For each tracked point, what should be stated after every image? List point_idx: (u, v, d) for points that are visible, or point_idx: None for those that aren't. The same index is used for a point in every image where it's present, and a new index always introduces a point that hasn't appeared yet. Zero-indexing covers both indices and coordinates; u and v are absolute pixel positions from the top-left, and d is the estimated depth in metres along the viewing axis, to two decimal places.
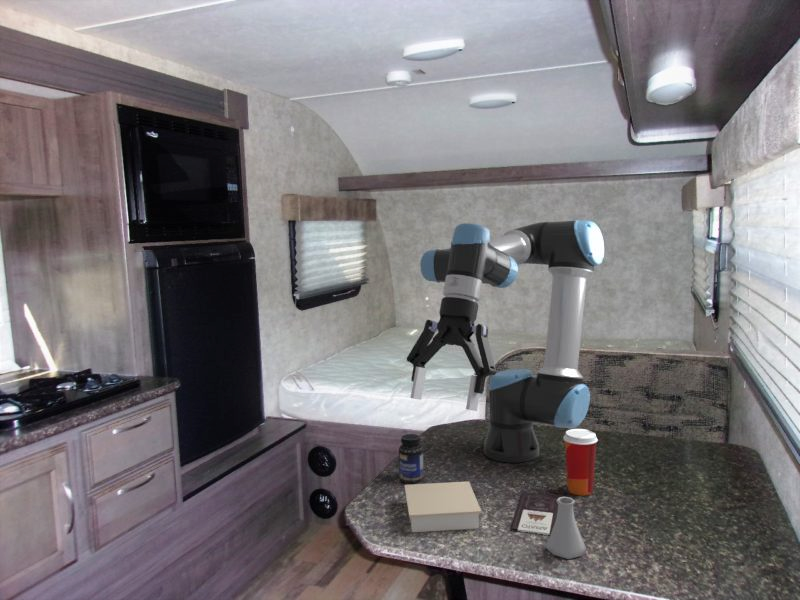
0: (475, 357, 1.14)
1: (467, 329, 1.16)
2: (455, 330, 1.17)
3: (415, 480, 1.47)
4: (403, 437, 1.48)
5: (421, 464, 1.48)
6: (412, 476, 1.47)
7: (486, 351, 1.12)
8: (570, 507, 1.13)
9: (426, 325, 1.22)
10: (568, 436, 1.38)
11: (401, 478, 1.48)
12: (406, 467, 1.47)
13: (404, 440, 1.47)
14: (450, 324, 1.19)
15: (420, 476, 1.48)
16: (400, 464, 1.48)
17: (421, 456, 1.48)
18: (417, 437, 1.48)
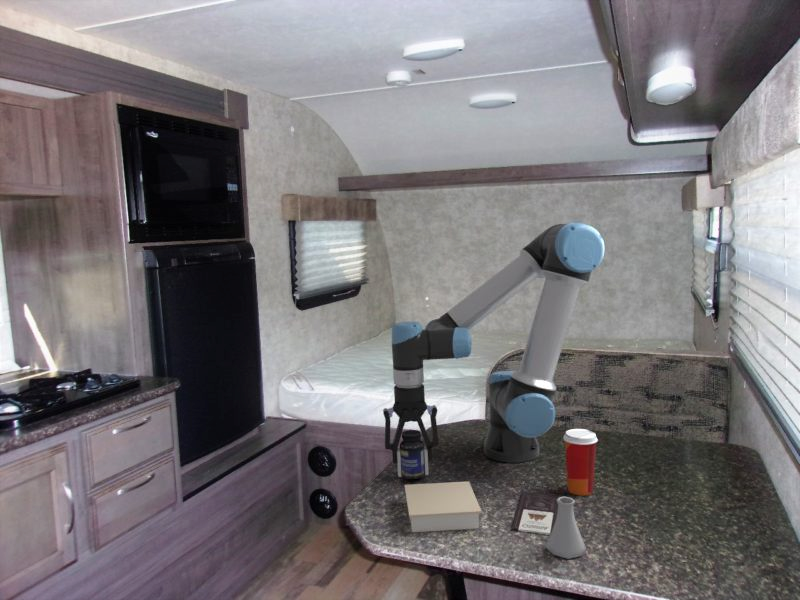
0: None
1: (424, 409, 1.47)
2: (416, 412, 1.46)
3: (416, 476, 1.47)
4: (404, 433, 1.48)
5: (422, 460, 1.48)
6: (414, 472, 1.47)
7: None
8: (570, 507, 1.13)
9: (386, 416, 1.47)
10: (568, 436, 1.38)
11: (403, 474, 1.48)
12: (407, 463, 1.47)
13: (405, 436, 1.47)
14: (406, 403, 1.47)
15: (421, 472, 1.48)
16: (401, 460, 1.48)
17: (422, 452, 1.48)
18: (418, 433, 1.48)
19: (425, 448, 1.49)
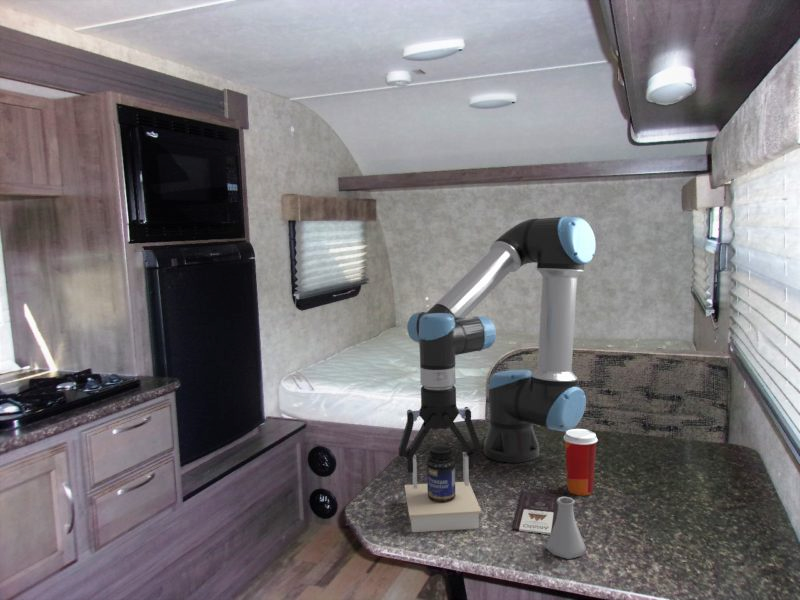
0: None
1: (455, 414, 1.27)
2: (446, 418, 1.26)
3: (446, 499, 1.27)
4: (432, 449, 1.28)
5: (453, 480, 1.28)
6: (443, 494, 1.27)
7: (475, 433, 1.28)
8: (570, 507, 1.13)
9: (409, 418, 1.26)
10: (568, 436, 1.38)
11: (430, 496, 1.28)
12: (436, 484, 1.27)
13: (434, 452, 1.27)
14: (436, 410, 1.27)
15: (452, 494, 1.28)
16: (429, 480, 1.28)
17: (453, 471, 1.28)
18: (448, 449, 1.28)
19: (465, 455, 1.29)
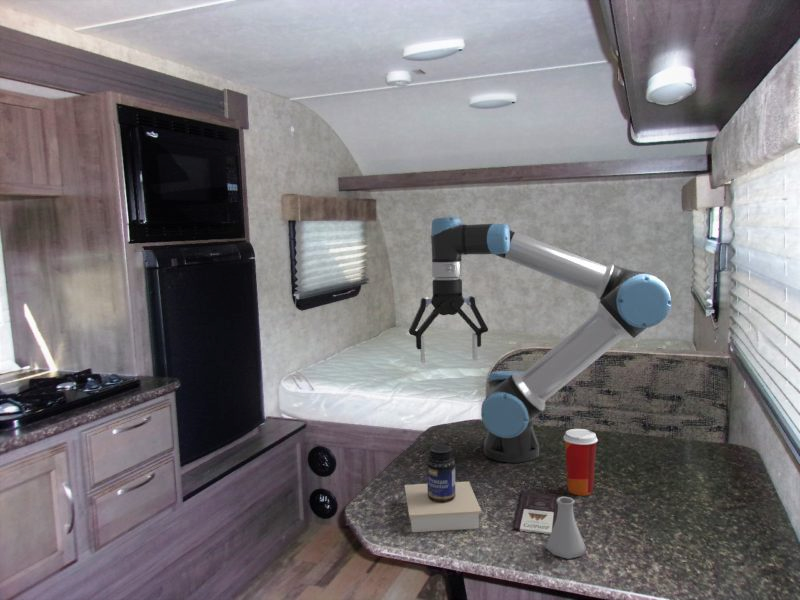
0: (472, 322, 1.52)
1: (462, 302, 1.51)
2: (454, 304, 1.50)
3: (446, 499, 1.27)
4: (432, 449, 1.28)
5: (453, 480, 1.28)
6: (443, 494, 1.27)
7: (481, 316, 1.52)
8: (570, 507, 1.13)
9: (422, 303, 1.50)
10: (568, 436, 1.38)
11: (430, 496, 1.28)
12: (436, 484, 1.27)
13: (434, 452, 1.27)
14: (445, 300, 1.50)
15: (452, 494, 1.28)
16: (429, 480, 1.28)
17: (453, 471, 1.28)
18: (448, 449, 1.28)
19: (474, 334, 1.53)
